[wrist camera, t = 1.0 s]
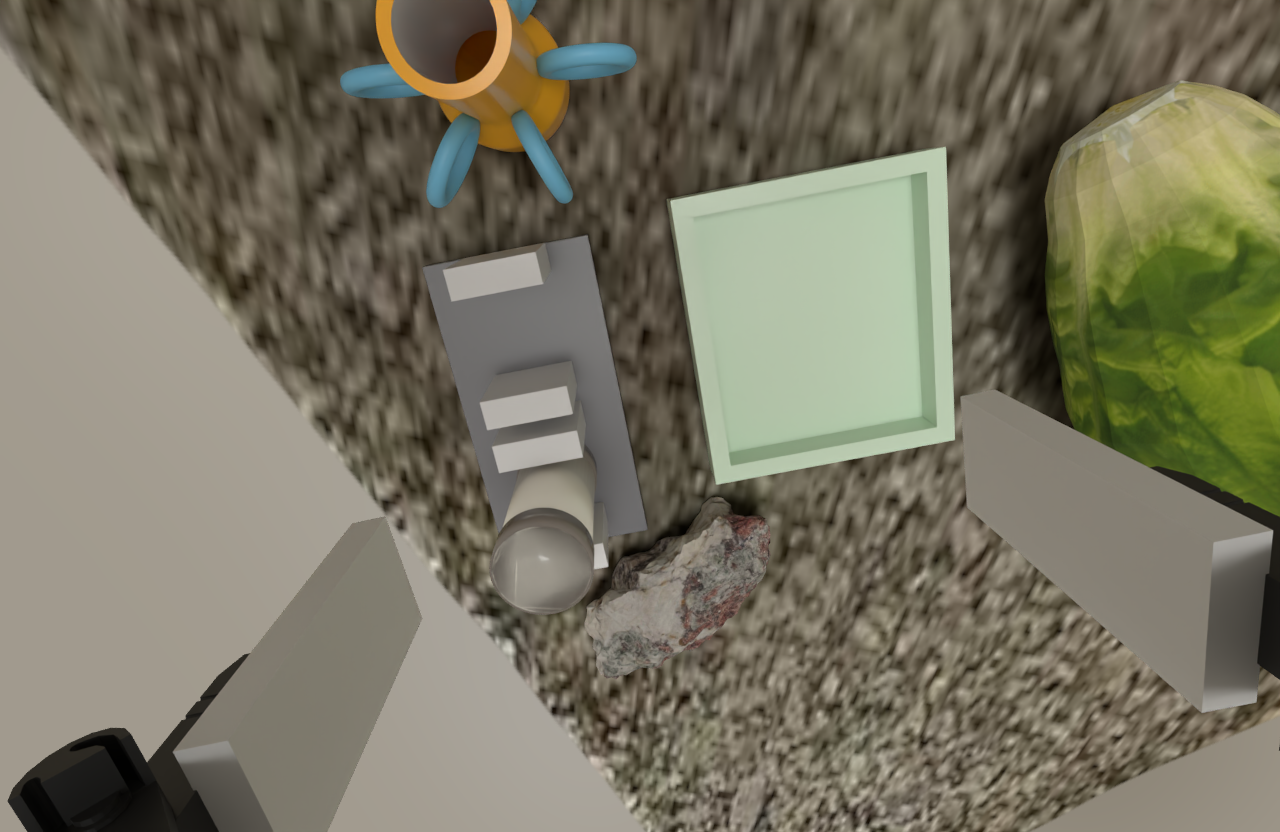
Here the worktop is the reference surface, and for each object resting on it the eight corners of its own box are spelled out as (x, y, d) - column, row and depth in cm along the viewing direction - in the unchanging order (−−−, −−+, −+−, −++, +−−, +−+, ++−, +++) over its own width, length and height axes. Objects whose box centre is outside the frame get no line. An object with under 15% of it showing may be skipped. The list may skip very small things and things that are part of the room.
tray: (666, 199, 37) (670, 200, 34) (923, 149, 36) (945, 147, 34) (710, 467, 42) (716, 484, 39) (935, 425, 42) (954, 439, 39)
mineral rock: (618, 674, 47) (619, 722, 43) (547, 594, 44) (542, 637, 40) (802, 562, 45) (822, 601, 40) (738, 472, 42) (753, 504, 38)
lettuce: (1015, 143, 42) (1392, -65, 29) (1177, 454, 45) (1588, 398, 32) (890, 241, 33) (1355, 7, 20) (1103, 621, 36) (1633, 644, 23)
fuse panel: (425, 264, 37) (394, 279, 32) (587, 233, 37) (584, 242, 31) (507, 549, 43) (492, 603, 38) (646, 523, 43) (652, 573, 37)
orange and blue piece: (555, 247, 37) (523, 289, 23) (371, 154, 35) (212, 137, 21) (658, 22, 34) (695, -91, 20) (461, -94, 32) (345, -314, 18)
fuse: (511, 442, 40) (477, 535, 29) (588, 427, 40) (581, 515, 29) (529, 511, 41) (504, 622, 31) (604, 497, 41) (603, 604, 31)
